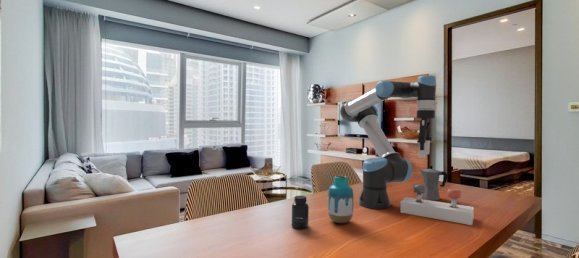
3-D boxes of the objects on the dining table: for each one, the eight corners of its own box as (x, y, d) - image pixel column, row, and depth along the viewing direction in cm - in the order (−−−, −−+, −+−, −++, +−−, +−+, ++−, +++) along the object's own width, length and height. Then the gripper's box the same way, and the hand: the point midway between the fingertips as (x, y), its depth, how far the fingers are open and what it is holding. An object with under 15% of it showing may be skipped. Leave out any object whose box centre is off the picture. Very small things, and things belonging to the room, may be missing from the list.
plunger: (412, 203, 130) (412, 185, 130) (414, 200, 134) (414, 183, 134) (423, 204, 127) (424, 187, 127) (426, 202, 131) (426, 185, 131)
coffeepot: (414, 196, 158) (415, 164, 157) (423, 194, 163) (423, 163, 163) (443, 203, 145) (443, 168, 145) (451, 200, 151) (452, 166, 151)
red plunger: (446, 208, 122) (446, 190, 122) (448, 205, 126) (448, 188, 126) (460, 210, 119) (460, 191, 119) (461, 207, 123) (461, 189, 123)
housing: (400, 212, 131) (400, 201, 131) (405, 207, 139) (406, 196, 139) (472, 225, 114) (472, 213, 114) (473, 218, 123) (473, 207, 122)
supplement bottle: (296, 230, 109) (296, 200, 108) (288, 225, 115) (288, 195, 115) (311, 227, 112) (311, 197, 112) (303, 222, 118) (303, 193, 118)
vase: (337, 216, 126) (337, 173, 125) (358, 222, 118) (358, 176, 118) (322, 222, 118) (322, 176, 118) (343, 228, 111) (343, 180, 110)
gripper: (431, 109, 117) (429, 160, 118) (437, 110, 138) (436, 153, 139) (412, 109, 121) (410, 158, 122) (421, 110, 142) (419, 152, 143)
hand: (424, 155), depth 130 cm, fingers open, 13 cm apart
